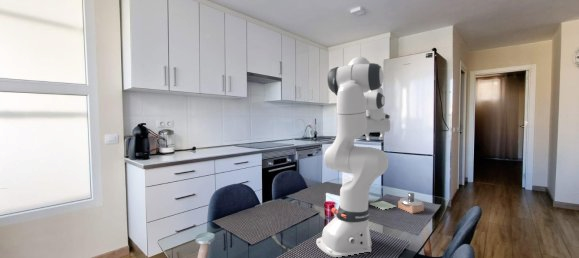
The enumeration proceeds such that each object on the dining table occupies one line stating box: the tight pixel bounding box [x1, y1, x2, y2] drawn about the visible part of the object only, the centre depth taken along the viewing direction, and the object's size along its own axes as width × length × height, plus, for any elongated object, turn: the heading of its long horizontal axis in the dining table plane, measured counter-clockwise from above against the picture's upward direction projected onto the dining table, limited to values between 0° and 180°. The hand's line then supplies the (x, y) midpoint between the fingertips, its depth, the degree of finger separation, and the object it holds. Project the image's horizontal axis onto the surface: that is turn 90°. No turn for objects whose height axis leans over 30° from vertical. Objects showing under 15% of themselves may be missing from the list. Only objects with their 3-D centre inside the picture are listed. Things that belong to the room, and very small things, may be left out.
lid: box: [399, 192, 423, 206], centre depth 138 cm, size 11×11×5 cm
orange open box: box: [397, 200, 425, 215], centre depth 138 cm, size 9×9×4 cm
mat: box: [369, 200, 397, 211], centre depth 144 cm, size 10×10×1 cm
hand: (374, 140), depth 146 cm, fingers open, 8 cm apart
